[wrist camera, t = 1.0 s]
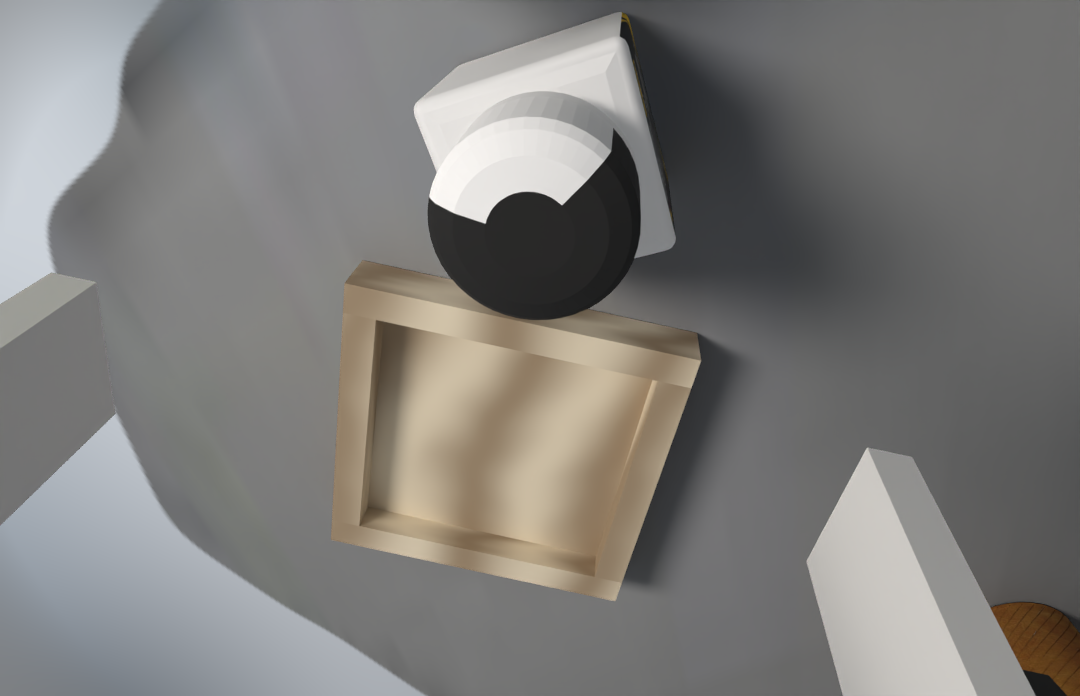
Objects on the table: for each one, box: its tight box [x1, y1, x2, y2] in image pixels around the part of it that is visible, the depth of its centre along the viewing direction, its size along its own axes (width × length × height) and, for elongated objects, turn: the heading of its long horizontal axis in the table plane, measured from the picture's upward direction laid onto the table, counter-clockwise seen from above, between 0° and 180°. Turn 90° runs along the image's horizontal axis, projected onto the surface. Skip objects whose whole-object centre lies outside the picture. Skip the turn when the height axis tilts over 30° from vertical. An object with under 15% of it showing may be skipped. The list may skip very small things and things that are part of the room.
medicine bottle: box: [414, 12, 676, 320], centre depth 25 cm, size 7×7×12 cm
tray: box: [331, 260, 701, 601], centre depth 38 cm, size 16×16×2 cm
